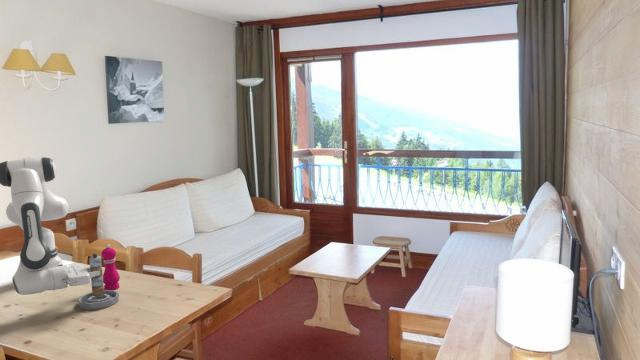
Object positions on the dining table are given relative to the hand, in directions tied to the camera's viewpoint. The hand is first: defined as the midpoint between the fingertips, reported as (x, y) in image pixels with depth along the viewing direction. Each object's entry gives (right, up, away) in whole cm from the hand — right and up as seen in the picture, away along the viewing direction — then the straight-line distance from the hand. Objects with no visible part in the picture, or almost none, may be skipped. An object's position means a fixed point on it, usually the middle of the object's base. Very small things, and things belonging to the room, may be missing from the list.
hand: (98, 270), depth 208 cm
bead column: (0, -10, +1) cm, 10 cm away
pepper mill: (-2, -11, +19) cm, 22 cm away
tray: (0, -13, +1) cm, 14 cm away
